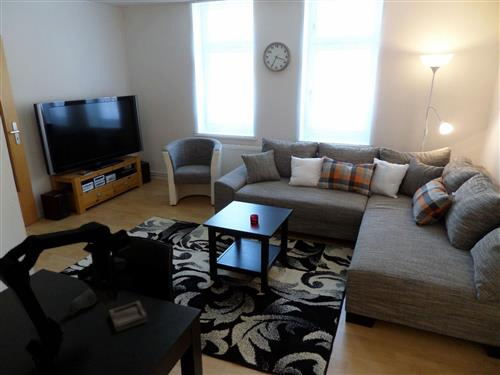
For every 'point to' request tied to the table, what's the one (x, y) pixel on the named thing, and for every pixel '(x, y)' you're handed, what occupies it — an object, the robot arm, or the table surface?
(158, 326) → the table surface
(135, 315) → the birch stand
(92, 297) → the decorative bird
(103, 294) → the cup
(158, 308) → the table surface
